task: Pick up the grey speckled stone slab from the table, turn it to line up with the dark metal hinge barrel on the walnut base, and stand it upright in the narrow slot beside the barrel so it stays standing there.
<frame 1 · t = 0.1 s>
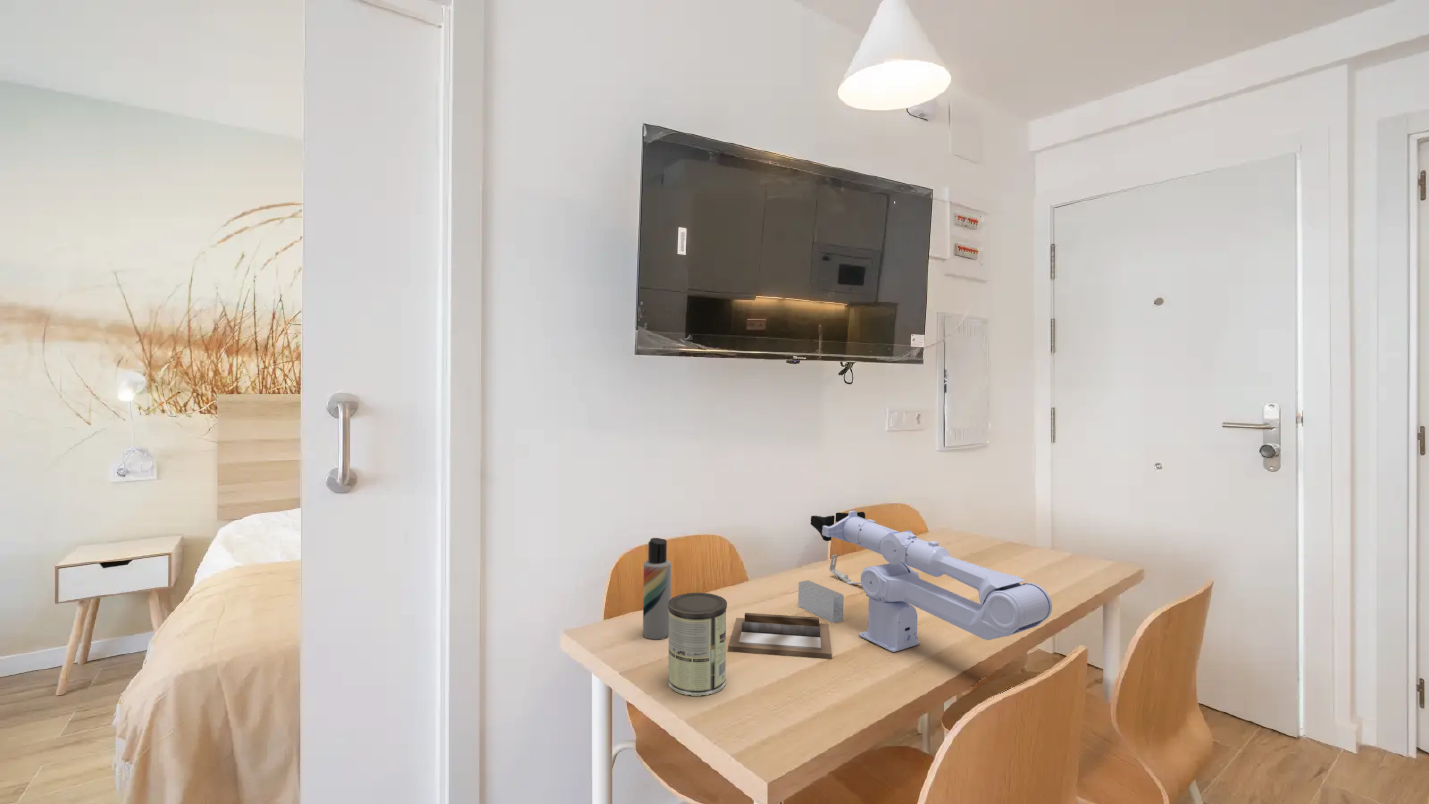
hand: (824, 518, 139), 22 cm above the table, tool horizontal, fingers open, 7 cm apart
coffee can: (696, 683, 104), on the table
lotion bottle: (656, 635, 124), on the table
grey speckled stone slab: (820, 614, 137), on the table
hinge base: (780, 639, 122), on the table
bracket: (851, 584, 159), on the table
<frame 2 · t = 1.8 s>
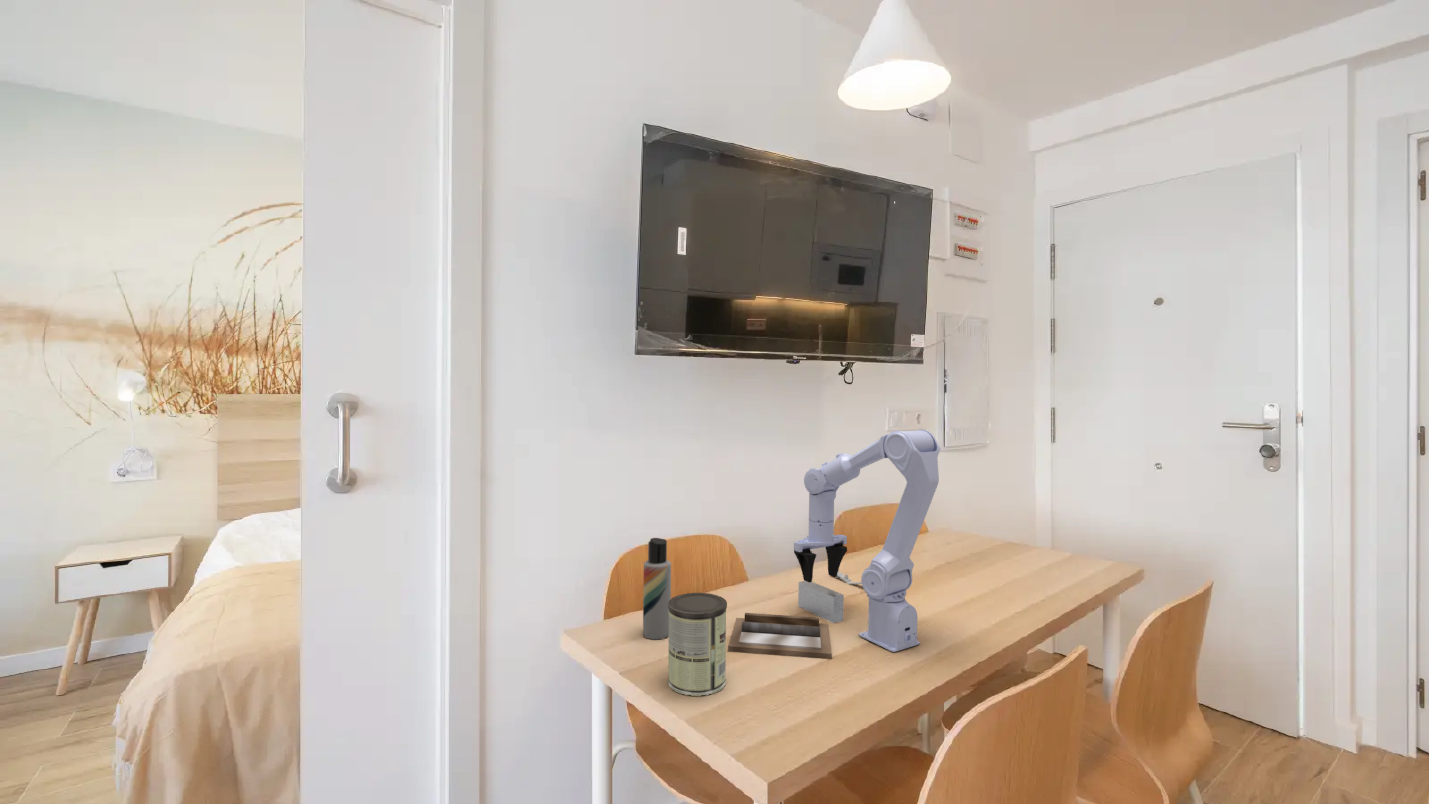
hand: (820, 578, 137), 8 cm above the table, tool pointing down, fingers open, 7 cm apart
nothing on the table moved.
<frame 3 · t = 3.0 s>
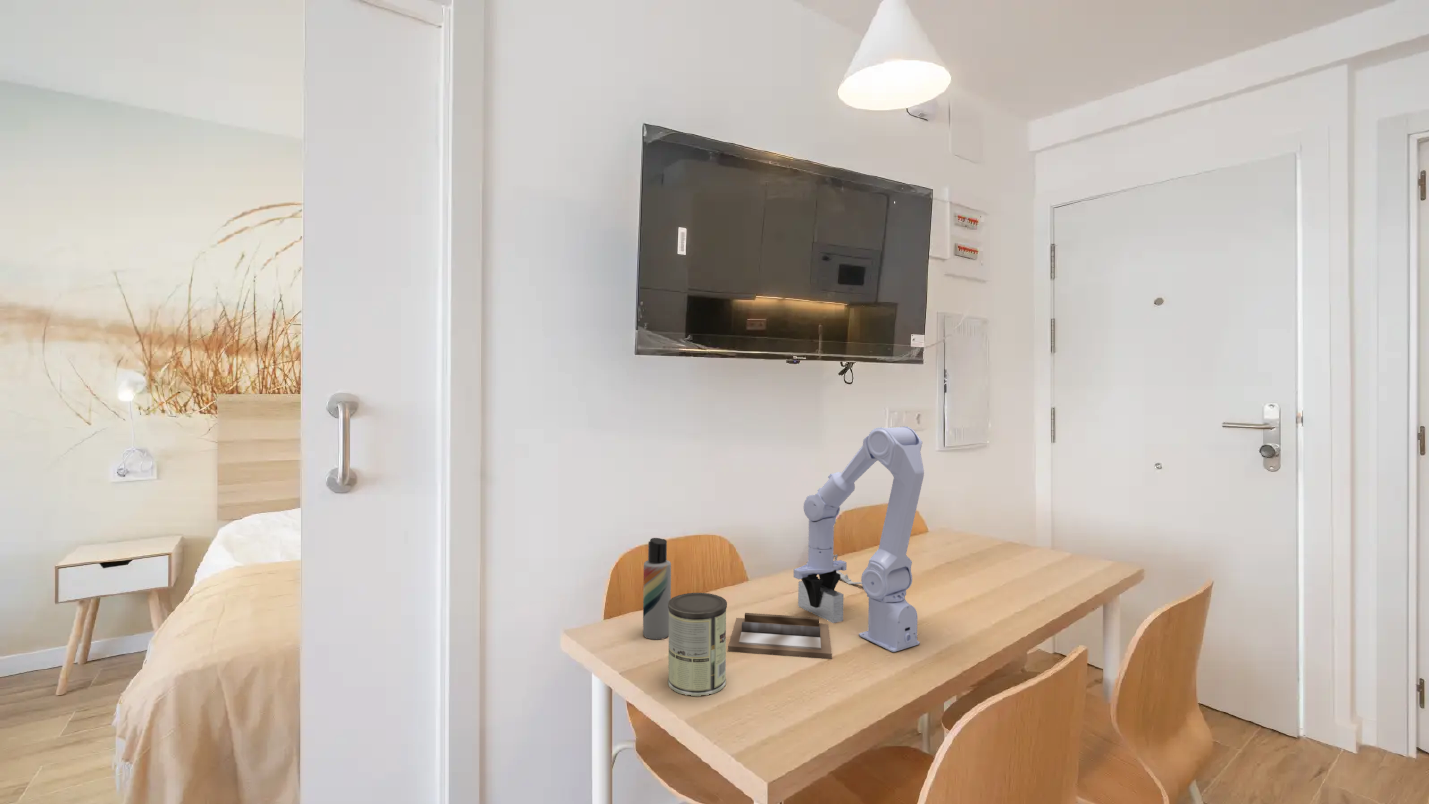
hand: (820, 605, 137), 2 cm above the table, tool pointing down, fingers closed on grey speckled stone slab, 3 cm apart
grey speckled stone slab: (819, 613, 137), on the table, touching gripper
everything else where it was.
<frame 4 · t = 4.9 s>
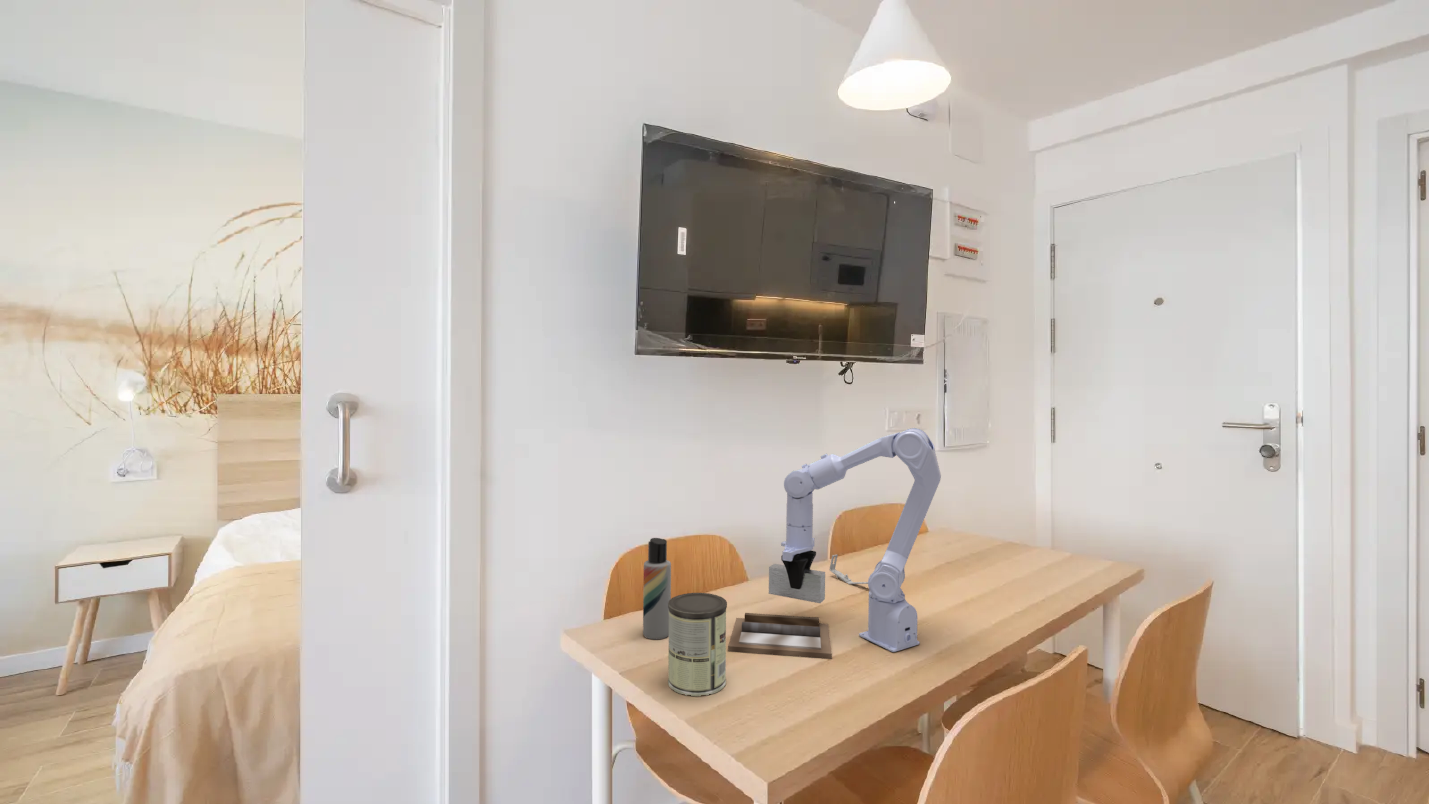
hand: (798, 586, 130), 8 cm above the table, tool pointing down, fingers closed on grey speckled stone slab, 3 cm apart
grey speckled stone slab: (796, 596, 131), point 6 cm above the table, touching gripper
everything else where it was.
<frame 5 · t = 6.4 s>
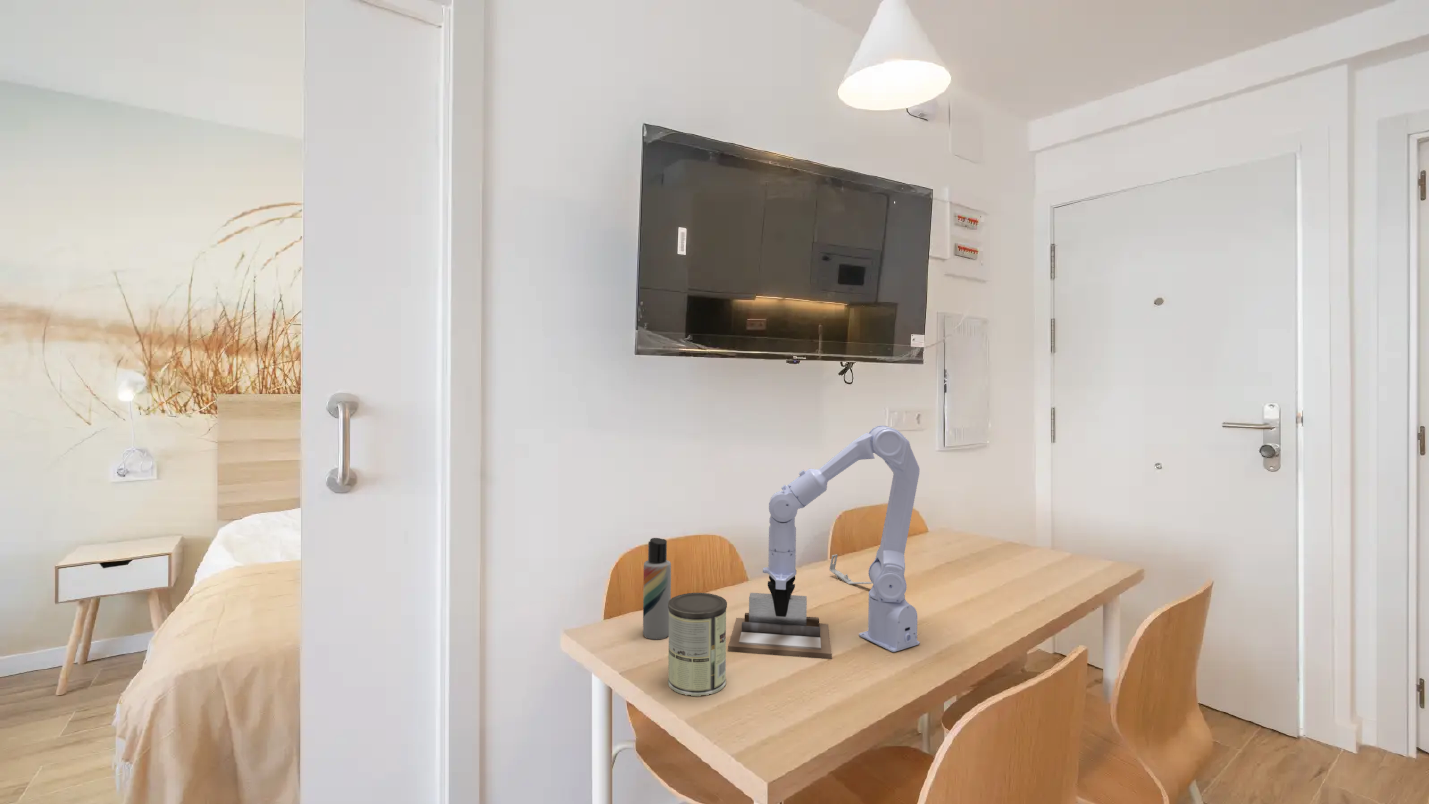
hand: (781, 612, 126), 4 cm above the table, tool pointing down, fingers closed on grey speckled stone slab, 3 cm apart
grey speckled stone slab: (777, 624, 126), point 2 cm above the table, touching gripper
everything else where it was.
when the fingers open (4 cm above the table, at t = 6.9 s): grey speckled stone slab stays where it is, resting on hinge base.
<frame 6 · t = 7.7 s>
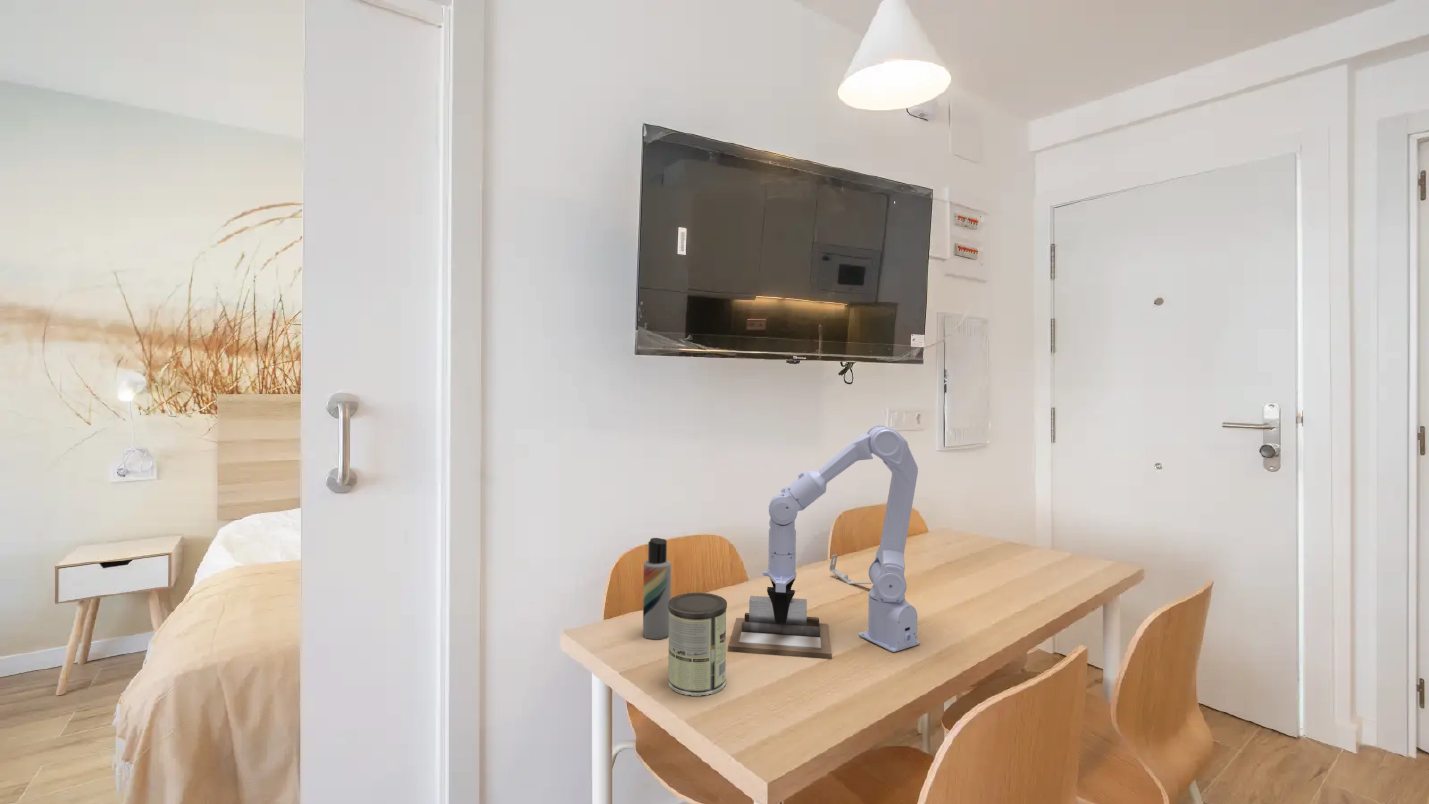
hand: (781, 615, 126), 4 cm above the table, tool pointing down, fingers open, 7 cm apart
grey speckled stone slab: (777, 628, 126), point 1 cm above the table, touching hinge base
everything else where it was.
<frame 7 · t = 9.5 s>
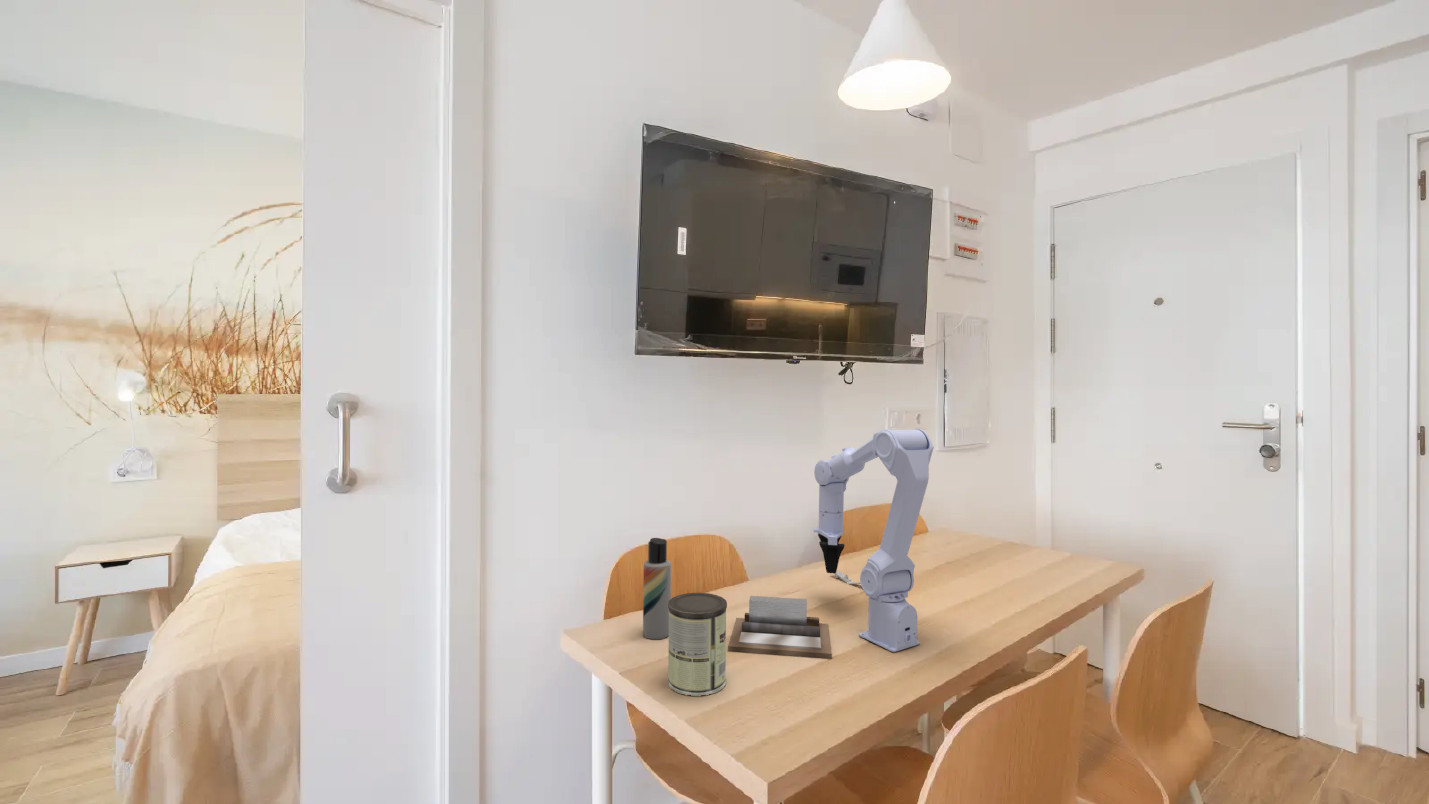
hand: (830, 568, 141), 9 cm above the table, tool pointing down, fingers open, 7 cm apart
nothing on the table moved.
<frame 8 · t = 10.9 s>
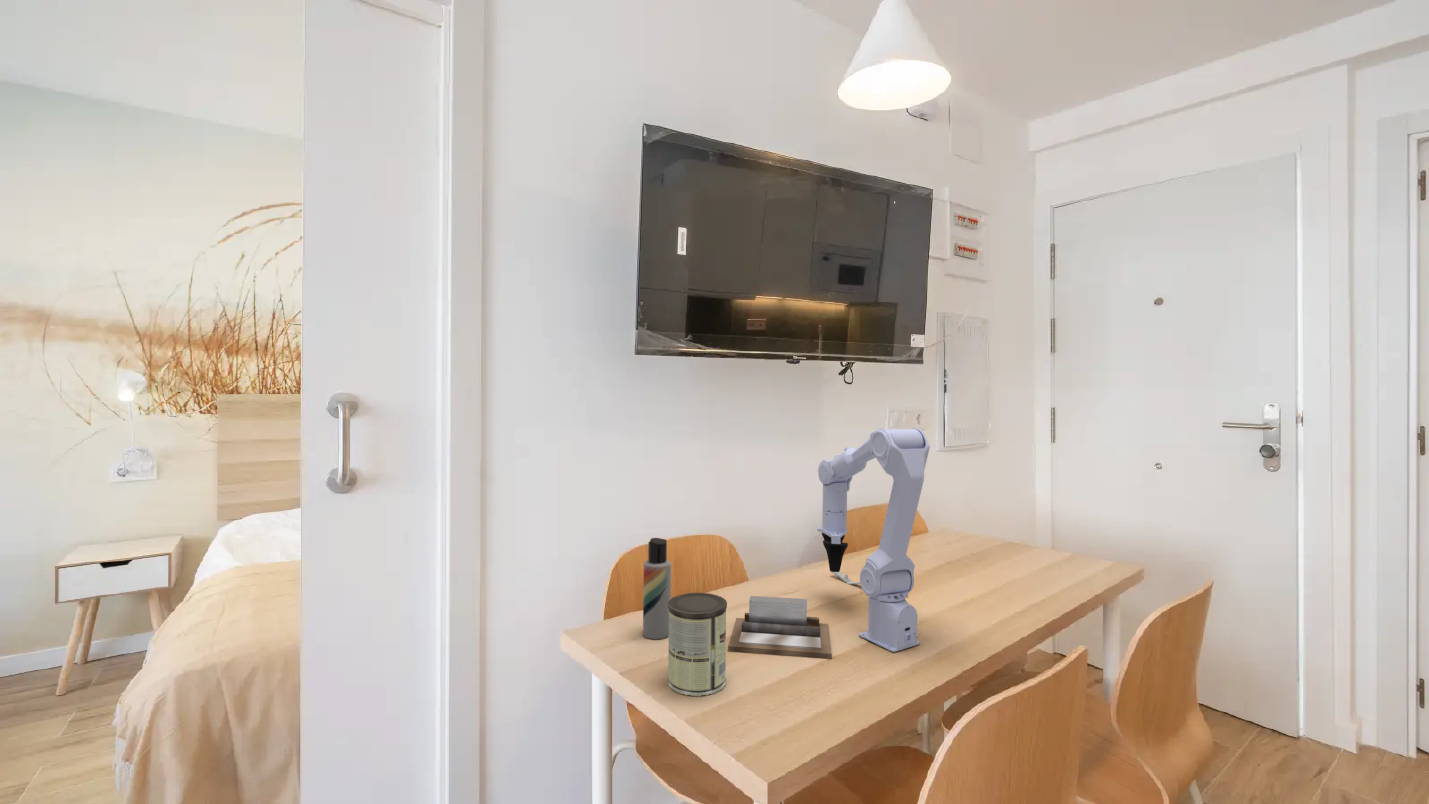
hand: (833, 566, 142), 9 cm above the table, tool pointing down, fingers open, 7 cm apart
nothing on the table moved.
at the end: grey speckled stone slab 0.7 cm from the target spot on the hinge base, point 1.0 cm above the hinge base's base; grey speckled stone slab tilted 0°; the gripper is holding nothing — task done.
